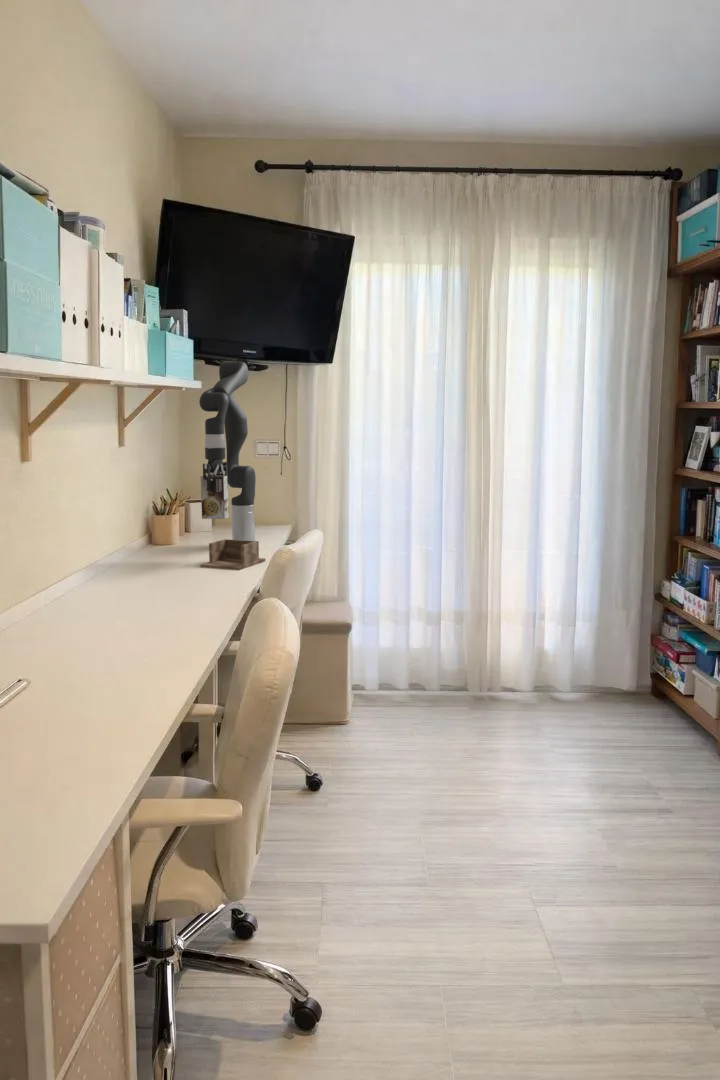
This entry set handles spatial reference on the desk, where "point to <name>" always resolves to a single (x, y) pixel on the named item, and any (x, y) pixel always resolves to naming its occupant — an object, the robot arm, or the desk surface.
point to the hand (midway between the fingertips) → (215, 490)
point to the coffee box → (215, 498)
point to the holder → (233, 554)
